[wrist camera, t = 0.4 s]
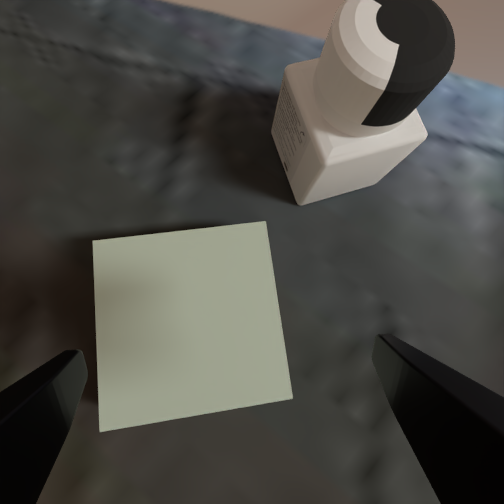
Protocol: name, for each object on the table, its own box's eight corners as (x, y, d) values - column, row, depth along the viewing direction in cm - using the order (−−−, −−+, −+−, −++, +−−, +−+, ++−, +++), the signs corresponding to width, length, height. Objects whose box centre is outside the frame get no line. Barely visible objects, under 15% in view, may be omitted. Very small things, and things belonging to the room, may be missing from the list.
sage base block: (282, 383, 23) (292, 398, 19) (123, 410, 22) (99, 432, 18) (260, 235, 25) (265, 221, 21) (115, 252, 24) (92, 240, 20)
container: (345, 112, 28) (439, -51, 16) (375, 185, 27) (505, 71, 14) (269, 131, 27) (302, -26, 15) (297, 208, 26) (360, 107, 13)
